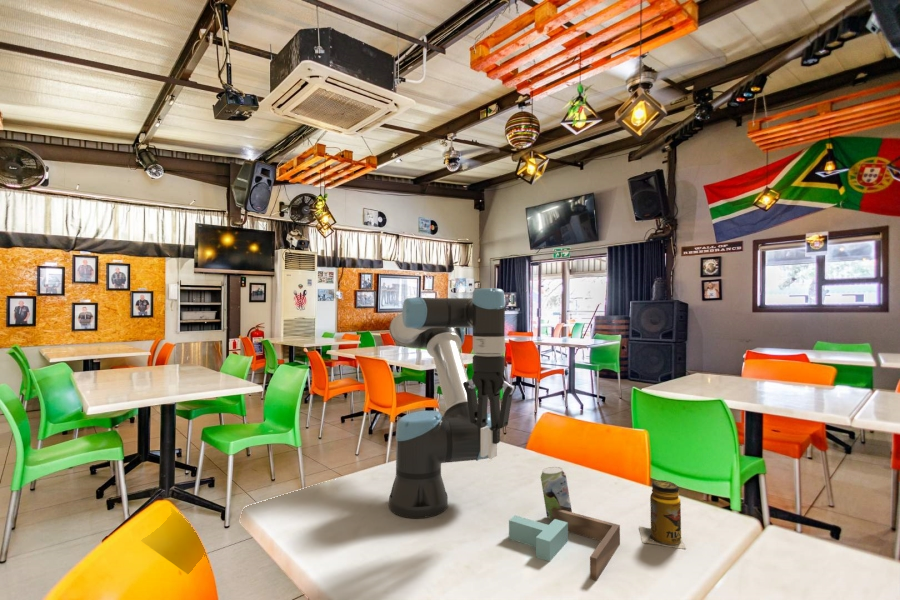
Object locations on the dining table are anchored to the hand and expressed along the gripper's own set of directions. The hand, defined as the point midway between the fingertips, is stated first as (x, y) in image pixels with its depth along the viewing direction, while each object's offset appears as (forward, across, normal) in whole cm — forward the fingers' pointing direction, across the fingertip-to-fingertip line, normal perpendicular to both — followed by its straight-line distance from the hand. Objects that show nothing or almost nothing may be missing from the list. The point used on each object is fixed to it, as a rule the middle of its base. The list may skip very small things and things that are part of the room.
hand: (488, 456), depth 104 cm
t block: (+17, +12, 0) cm, 20 cm away
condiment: (+17, +33, +18) cm, 42 cm away
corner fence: (+16, +19, +2) cm, 25 cm away
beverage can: (+17, +11, +13) cm, 24 cm away
